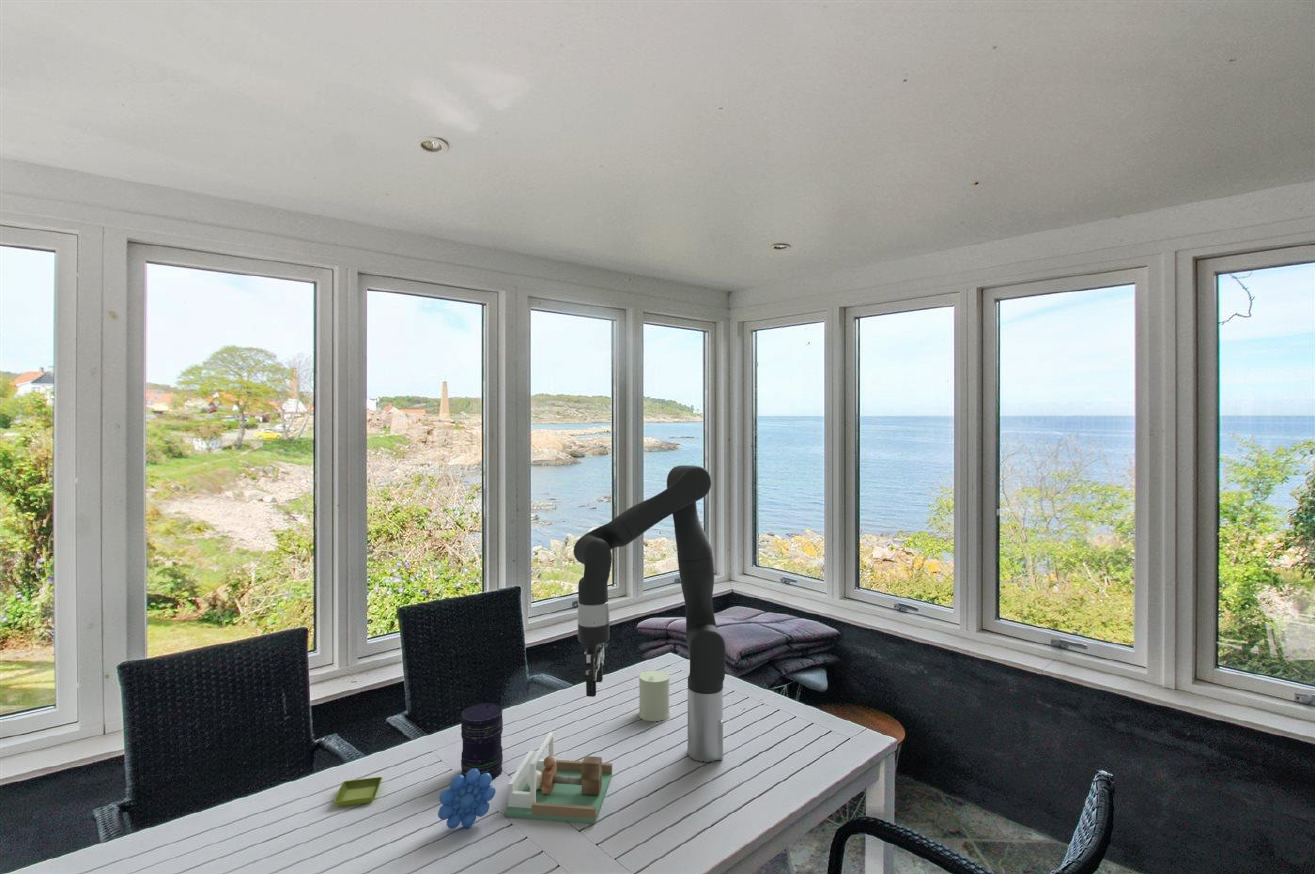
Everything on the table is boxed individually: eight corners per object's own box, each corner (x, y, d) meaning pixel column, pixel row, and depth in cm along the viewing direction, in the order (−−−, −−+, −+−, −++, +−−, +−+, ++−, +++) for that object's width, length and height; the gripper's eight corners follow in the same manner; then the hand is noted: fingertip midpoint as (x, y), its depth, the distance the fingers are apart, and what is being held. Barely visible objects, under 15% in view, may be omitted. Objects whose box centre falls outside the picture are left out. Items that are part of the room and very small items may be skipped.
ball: (528, 768, 146) (532, 785, 146) (522, 778, 142) (527, 795, 142) (544, 765, 145) (548, 781, 145) (538, 774, 141) (543, 791, 141)
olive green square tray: (332, 811, 137) (332, 801, 137) (342, 789, 145) (342, 780, 145) (375, 806, 139) (375, 796, 139) (382, 784, 148) (382, 776, 148)
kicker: (602, 785, 144) (602, 754, 144) (598, 797, 139) (598, 765, 139) (546, 781, 146) (547, 750, 146) (540, 793, 141) (540, 761, 141)
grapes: (494, 810, 137) (494, 755, 137) (496, 828, 130) (496, 771, 130) (438, 819, 133) (438, 763, 133) (437, 839, 127) (437, 780, 127)
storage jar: (491, 785, 146) (491, 722, 147) (453, 781, 148) (453, 718, 148) (509, 764, 156) (509, 704, 156) (473, 760, 158) (473, 701, 158)
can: (634, 719, 181) (634, 678, 182) (644, 706, 190) (644, 667, 190) (664, 723, 179) (664, 681, 179) (673, 710, 188) (673, 670, 188)
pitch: (612, 775, 151) (612, 731, 151) (595, 823, 132) (595, 772, 132) (532, 770, 153) (532, 726, 153) (504, 816, 135) (504, 766, 135)
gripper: (604, 629, 141) (605, 701, 141) (613, 612, 155) (615, 677, 155) (571, 629, 141) (572, 700, 141) (584, 612, 155) (585, 676, 155)
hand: (594, 688), depth 148 cm, fingers open, 8 cm apart
